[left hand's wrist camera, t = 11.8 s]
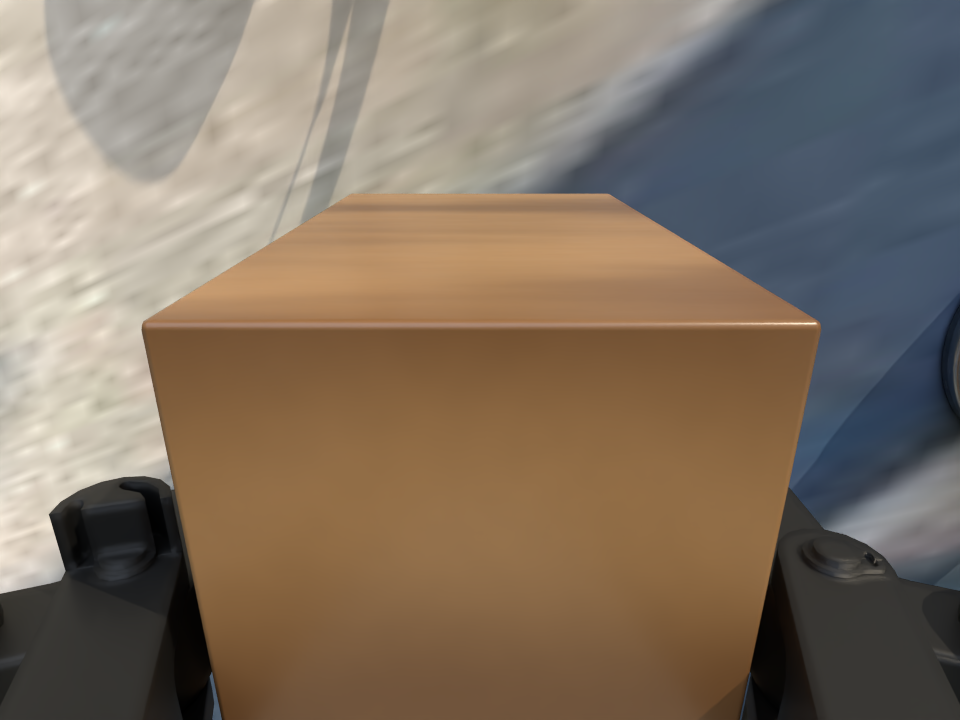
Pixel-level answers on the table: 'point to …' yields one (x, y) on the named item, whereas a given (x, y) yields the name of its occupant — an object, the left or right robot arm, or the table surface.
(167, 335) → the beam
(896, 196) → the table surface
